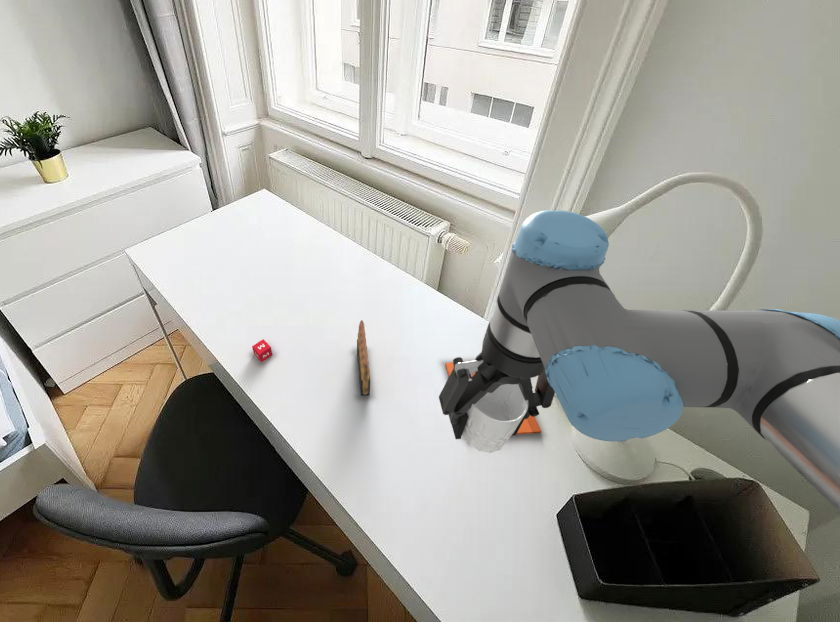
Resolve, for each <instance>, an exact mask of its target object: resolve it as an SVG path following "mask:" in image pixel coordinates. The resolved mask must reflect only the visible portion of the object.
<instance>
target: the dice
mask: <svg viewBox="0 0 840 622" xmlns="http://www.w3.org/2000/svg"><path fill="white" fill-rule="evenodd" d="M251 348H252V351H253V355H254V356H255V358H256V359H257V360H258V361H259V362H260V364H261V363H263V362H265V361H266V360H268V359H269V358H271V357H272V356H273V350H272V347H271V345H270V344H269V343H268V342H267V341H266V340H265V339H264V338H263V339H261V340H259V341H257V343H255V344H253V345H251Z"/></svg>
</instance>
